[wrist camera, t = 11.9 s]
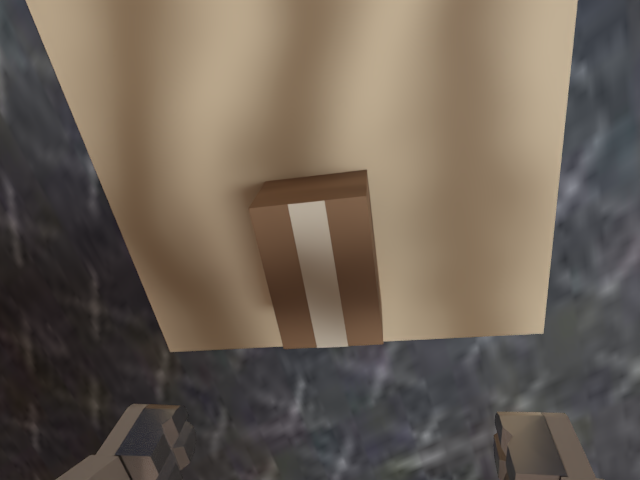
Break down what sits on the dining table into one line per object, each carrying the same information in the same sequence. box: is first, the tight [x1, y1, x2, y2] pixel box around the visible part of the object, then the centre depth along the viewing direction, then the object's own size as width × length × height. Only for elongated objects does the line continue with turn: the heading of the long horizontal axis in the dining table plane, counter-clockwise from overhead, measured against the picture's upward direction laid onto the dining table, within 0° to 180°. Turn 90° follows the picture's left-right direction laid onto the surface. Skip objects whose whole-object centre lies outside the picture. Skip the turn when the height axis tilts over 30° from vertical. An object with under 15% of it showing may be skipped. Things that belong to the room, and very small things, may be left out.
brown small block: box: [248, 170, 383, 349], centre depth 19 cm, size 7×4×3 cm, turn 9°
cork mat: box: [26, 0, 578, 352], centre depth 18 cm, size 20×24×1 cm
